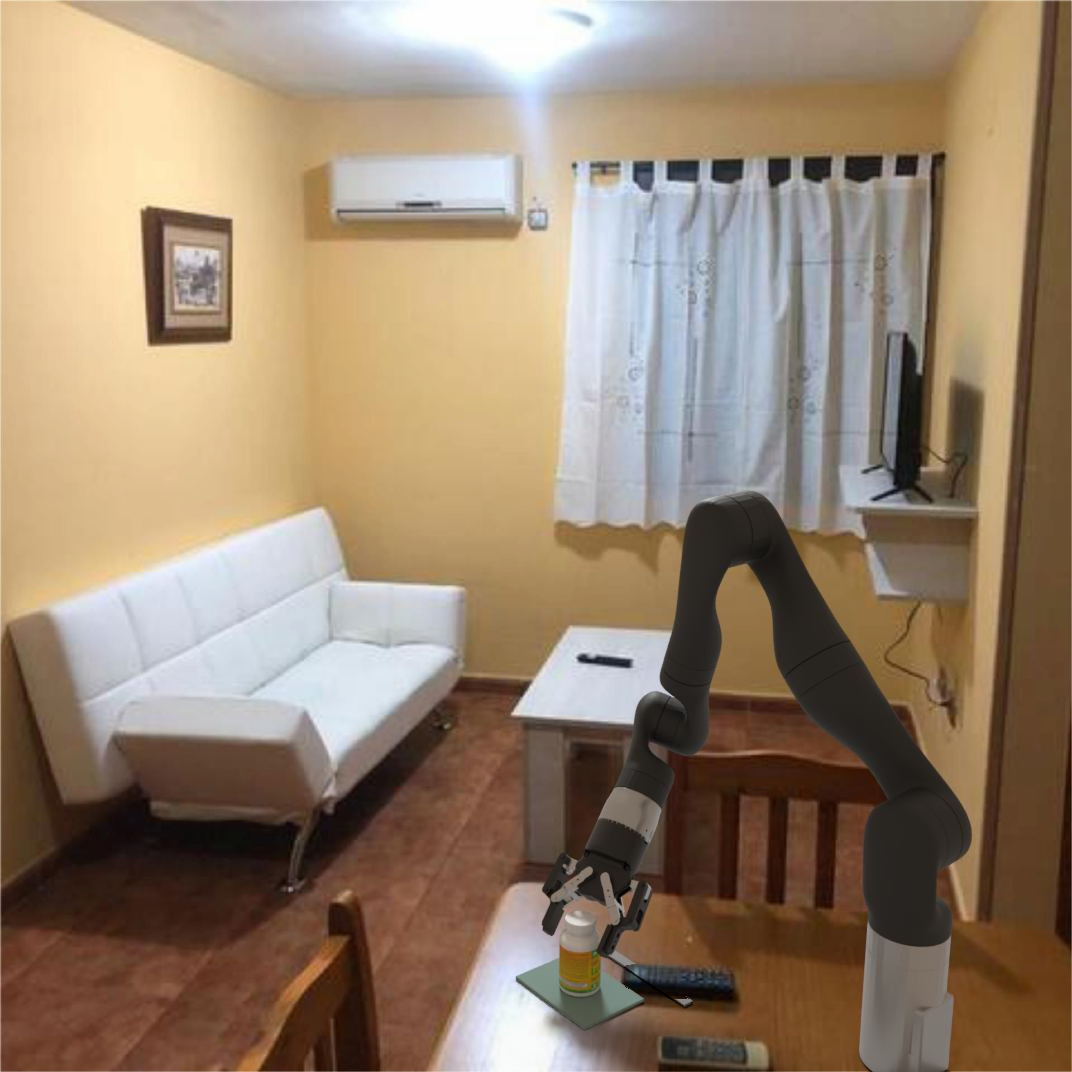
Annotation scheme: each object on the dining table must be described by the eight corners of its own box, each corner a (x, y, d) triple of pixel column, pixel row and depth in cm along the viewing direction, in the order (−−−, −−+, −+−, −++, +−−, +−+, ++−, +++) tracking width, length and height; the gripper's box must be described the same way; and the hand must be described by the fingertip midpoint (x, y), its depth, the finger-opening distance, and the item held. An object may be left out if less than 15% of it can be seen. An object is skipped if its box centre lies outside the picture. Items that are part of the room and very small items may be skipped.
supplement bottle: (597, 1000, 148) (598, 930, 146) (555, 995, 149) (556, 926, 147) (603, 977, 153) (604, 909, 151) (563, 972, 154) (563, 905, 152)
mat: (643, 1001, 149) (643, 998, 148) (584, 1030, 143) (584, 1027, 142) (573, 954, 159) (574, 951, 159) (515, 979, 153) (515, 976, 153)
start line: (692, 1002, 148) (692, 1000, 148) (684, 1007, 147) (684, 1004, 147) (581, 930, 165) (581, 928, 165) (573, 934, 164) (573, 932, 164)
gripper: (569, 804, 157) (517, 916, 150) (660, 832, 149) (609, 953, 142) (591, 827, 162) (541, 936, 155) (680, 856, 154) (631, 973, 147)
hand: (573, 944), depth 149 cm, fingers open, 8 cm apart
